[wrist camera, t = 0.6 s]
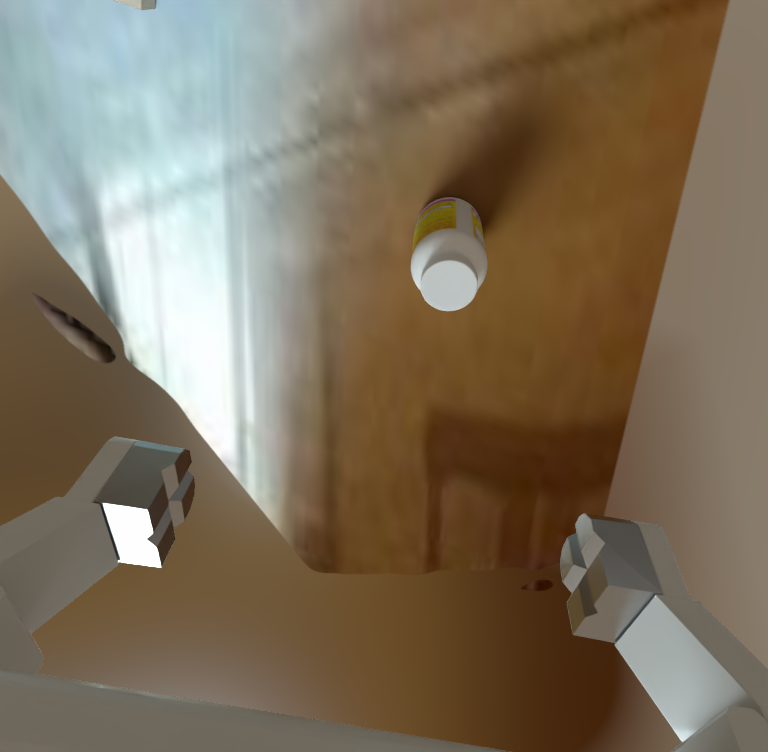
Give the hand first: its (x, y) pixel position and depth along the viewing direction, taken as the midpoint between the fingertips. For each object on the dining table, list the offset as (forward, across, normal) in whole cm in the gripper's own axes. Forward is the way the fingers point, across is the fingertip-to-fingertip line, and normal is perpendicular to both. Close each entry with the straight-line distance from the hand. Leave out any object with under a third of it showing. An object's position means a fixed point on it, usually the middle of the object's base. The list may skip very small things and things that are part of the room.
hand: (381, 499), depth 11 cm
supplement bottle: (+45, -4, +11) cm, 46 cm away
